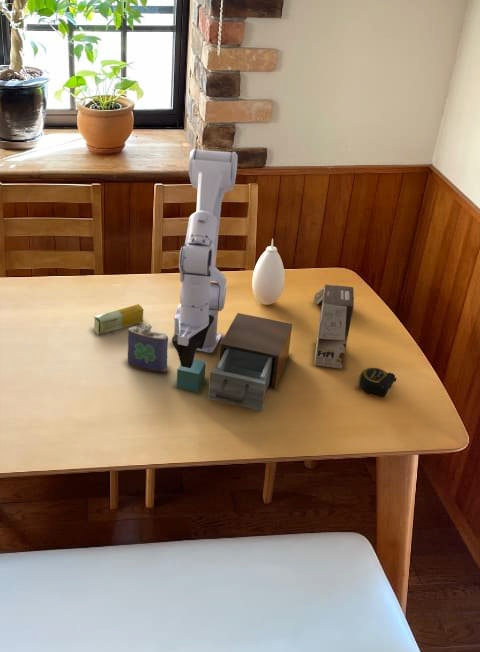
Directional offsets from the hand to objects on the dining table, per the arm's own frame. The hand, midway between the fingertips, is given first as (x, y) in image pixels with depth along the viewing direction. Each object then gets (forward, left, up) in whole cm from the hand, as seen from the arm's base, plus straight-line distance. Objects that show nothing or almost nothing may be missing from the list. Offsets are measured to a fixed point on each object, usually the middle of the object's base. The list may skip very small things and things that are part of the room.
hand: (192, 356), depth 167 cm
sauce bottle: (+7, +40, -7) cm, 41 cm away
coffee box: (+26, +22, -7) cm, 35 cm away
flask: (-11, +3, -7) cm, 13 cm away
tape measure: (+38, +13, -7) cm, 41 cm away
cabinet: (+11, +12, -7) cm, 17 cm away
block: (0, 0, -7) cm, 7 cm away
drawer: (+11, -1, -6) cm, 13 cm away
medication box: (-23, +16, -7) cm, 29 cm away
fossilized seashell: (+23, +44, -7) cm, 50 cm away
